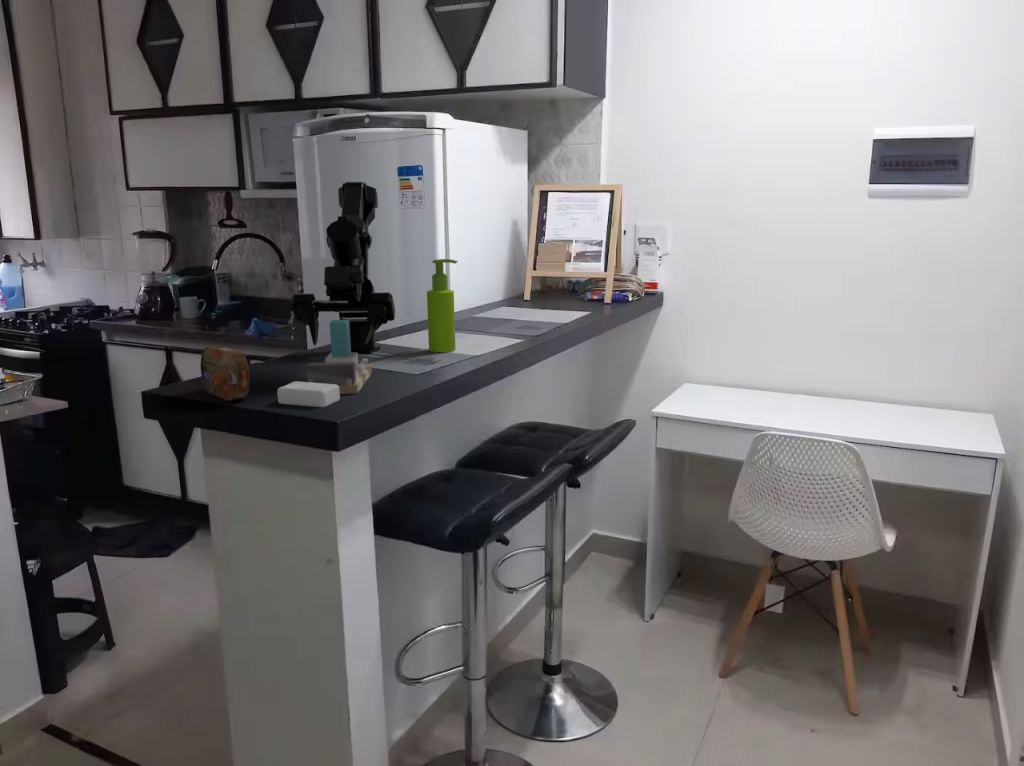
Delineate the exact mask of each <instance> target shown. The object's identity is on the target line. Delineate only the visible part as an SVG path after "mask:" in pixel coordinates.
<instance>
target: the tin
mask: <svg viewBox="0 0 1024 766" xmlns="http://www.w3.org/2000/svg"><path fill="white" fill-rule="evenodd" d="M200 374H201V378H202V383H203V386H204V388H205V390H206V391H207V392H208V394H210V393H211V394H210V395H212V394H213V396H215V395H216V396H215V397H217V396H218V398H220V399H222V398H223V400H225V401H228V402H230V401H236V400H241V399H245V398H246V397H247V395H248V393H249V391H250V367H249V363H248V359H247V358H246V356H245V355H244V353H242V352H240V351H239V350H236V349H235V350H234V349H231V348H227V347H225V346H205V348H204V349H203V351H202V352H201V356H200Z"/></svg>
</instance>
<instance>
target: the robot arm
mask: <svg viewBox="0 0 1024 766" xmlns="http://www.w3.org/2000/svg"><path fill="white" fill-rule="evenodd" d="M337 189H338V191H337V193H338V195H337V196H338V205H339V207H340V208H341V216H337V220H334V221H333V222H331V223H330V224H329V225H328V226H327V228H326V230H325V231H326V239H325V240H326V243H327V247H328V248H329V251H330V256H331V258H332V259H333V265H332V266H325V267H324V275H323V276H324V278H323V285H324V286H325V287H326V289H325V295H326V297H328V299H324V300H323V299H321V300H319V299H318V300H316V297H315V294H314V293H294V294H293V295H292V296H291V297H290V308H291V309H292V312H293V315H294V318H295V320H296V321H297V322H299V323H302V324H303V325H304V326H308V327H309V328H308V329H309V332H310V336H311V340H312V345H313V346H317V343H318V338H319V329H320V328H319V327H320V322H319V320H318V319H319V316H320V312H326V313H327V312H331V313H332V312H333V313H338V316H339V320H349V326H350V342H351V353H358V354H370V353H373V352H375V351H377V350H379V349H381V345H376V344H375V343H376V342H375V333H376V332H377V331H378V329H380V328H381V326H382V325H386V324H388V322H392V321H394V320H395V318H396V307H395V301H394V297H393V295H392V293H391V292H387V291H386V292H375V288H374V285H373V283H372V281H371V279H369V250H370V248H371V245H372V243H373V237H372V236H371V234H370V232H369V226H370V225H371V223H373V221H374V220H375V219H376V209H378V207H379V199H378V192H377V188H375V187H373V186H370V185H369V184H368V185H367V183H366V182H363V181H346V182H343V183H342V186H341V187H339V188H337Z"/></svg>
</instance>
